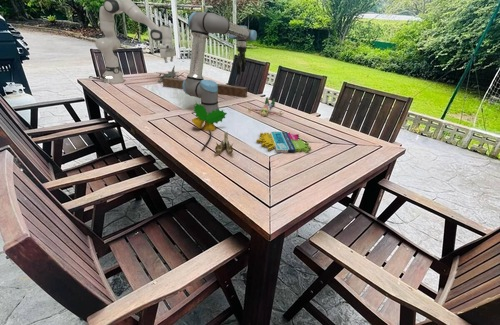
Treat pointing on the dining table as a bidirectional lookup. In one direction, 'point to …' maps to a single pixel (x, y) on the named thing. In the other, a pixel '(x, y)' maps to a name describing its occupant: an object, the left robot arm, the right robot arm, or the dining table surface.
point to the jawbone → (224, 145)
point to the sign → (283, 142)
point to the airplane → (169, 75)
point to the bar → (221, 88)
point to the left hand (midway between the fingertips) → (169, 62)
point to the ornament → (207, 117)
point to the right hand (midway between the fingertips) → (240, 73)
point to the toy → (266, 108)
